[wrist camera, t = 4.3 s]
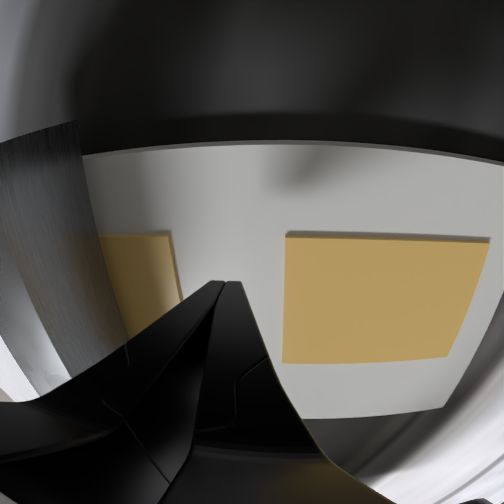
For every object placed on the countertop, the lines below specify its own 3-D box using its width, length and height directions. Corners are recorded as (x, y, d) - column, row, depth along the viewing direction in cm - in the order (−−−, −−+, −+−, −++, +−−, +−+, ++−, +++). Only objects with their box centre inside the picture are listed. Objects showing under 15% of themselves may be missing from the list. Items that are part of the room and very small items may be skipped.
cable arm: (173, 429, 16) (155, 485, 13) (120, 418, 17) (99, 468, 13) (84, 118, 8) (-8, 146, 5) (15, 137, 9) (-64, 170, 5)
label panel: (435, 401, 16) (440, 419, 14) (77, 380, 18) (68, 395, 17) (522, 166, 9) (543, 177, 8) (-4, 173, 11) (-24, 184, 10)
